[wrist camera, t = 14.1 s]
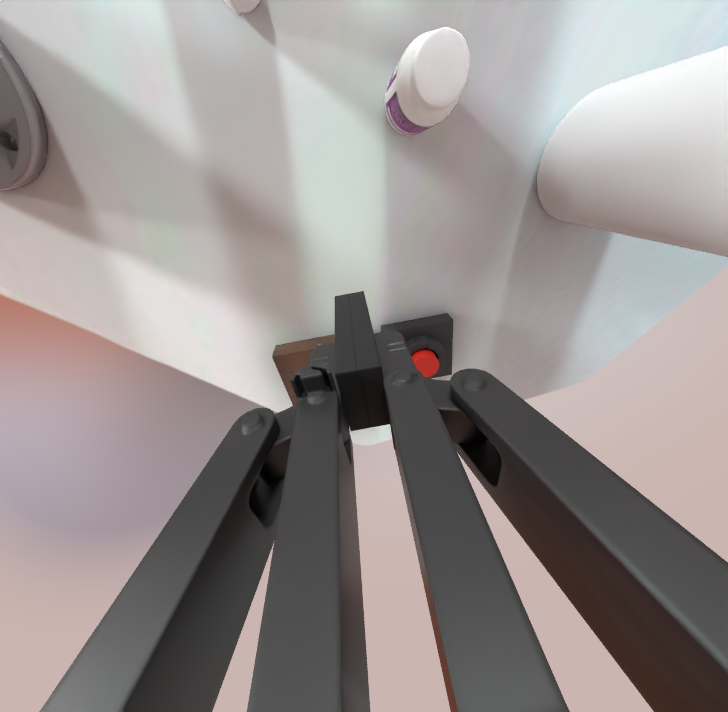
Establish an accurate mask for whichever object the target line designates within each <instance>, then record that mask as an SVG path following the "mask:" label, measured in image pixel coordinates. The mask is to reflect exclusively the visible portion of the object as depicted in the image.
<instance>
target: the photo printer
mask: <svg viewBox="0 0 728 712" xmlns="http://www.w3.org/2000/svg"><path fill="white" fill-rule="evenodd" d="M223 1H224V2H225V3H226V4H227V5H228V6H229V7H230V8H231V9H232V10H233V11H234V12H235V13H236V14H237V15H238V16H240V14H241V13H242V12H243V13H248V12H250V11H252V10H254V9H255V8H256V6H257V5H258V3H259V1H260V0H223Z"/></svg>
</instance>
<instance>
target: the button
mask: <svg viewBox="0 0 728 712" xmlns="http://www.w3.org/2000/svg"><path fill="white" fill-rule="evenodd" d="M411 357H412V359H413V362H414V364H415V366H416V369H417V370H419V371H420V372H421V373H422V374H423V375H424V377H426V378H428V377H431V376H432V375H434V374H435V373H436V372H437V371H438V369H439V361H438V359H437V357H436V356H435V354H434V353H433V352H432V351H431V350H428V349H421V350H418V351H416V352H414V353H413V354H412V355H411Z"/></svg>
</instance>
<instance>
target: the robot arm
mask: <svg viewBox="0 0 728 712" xmlns="http://www.w3.org/2000/svg"><path fill="white" fill-rule="evenodd" d="M46 154H47V135H46V129H45V124H44V120H43V116H42V113H41V110H40V107H39V104H38V102H37V100H36V97H35V95H34V93H33V91H32V89H31V87H30V85H29V83H28V81H27V79H26V77H25V76H24V74H23V72H22V71H21V69H20V67H19V66H18V64H17V63H16V61H15V60H14V58H13V57H12V55H11V54H10V53H9V51H8V50H7V48H6V47H5V46H4V44H3V43H2V42H1V41H0V191H2V190H12V189H17V188H20V187H23V186H25V185H27V184H28V183H30V182H32V181H33V180H34V179H35V178H36V177H37V176H38V174H39V173H40V172H41V170H42V168H43V166H44V163H45V160H46ZM290 382H291V385H292V387H293V390H294V392H295V394H296V397H297V399H298V400H297V403H296V404H295V405H294V406H292V407H290V408H288V409H286V410H284V411H281V412H279V413H277V414H274V413H273V411H271V410H270V409H268V408H257V409H254V410H251V411H249V412H247V413H245V414H244V415H242V416H241V417H240V418H239V419H238V420H237V421H236V422H235V423H234V425H233V426H232V428H231V429H230V430H229V432H228V434H227V435H226V436H225V438H224V439H223V441H222V442H221V444H220V445H219V447H218V448H217V450H216V451H215V453H214V454H213V456H212V457H211V459H210V460H209V462H208V463H207V465H206V466H205V467H204V469H203V470H202V472H201V473H200V475H199V476H198V478H197V479H196V481H195V482H194V484H193V485H192V487H191V488H190V490H189V491H188V493H187V494H186V496H185V497H184V499H183V500H182V502H181V503H180V504H179V506H178V508H177V509H176V510H175V512H174V513H173V515H172V516H171V518H170V519H169V521H168V522H167V524H166V525H165V527H164V528H163V530H162V531H161V533H160V534H159V536H158V537H157V539H156V540H155V542H154V543H153V545H152V546H151V547H150V549H149V551H148V552H147V553H146V555H145V556H144V558H143V559H142V561H141V562H140V564H139V565H138V567H137V568H136V570H135V571H134V573H133V574H132V576H131V577H130V579H129V580H128V582H127V583H126V585H125V586H124V588H123V589H122V591H121V592H120V593H119V595H118V596H117V598H116V600H115V601H114V602H113V604H112V605H111V607H110V608H109V610H108V611H107V613H106V614H105V616H104V617H103V619H102V620H101V622H100V623H99V625H98V626H97V628H96V629H95V630H94V632H93V633H92V635H91V636H90V638H89V639H88V641H87V642H86V644H85V645H84V647H83V648H82V650H81V651H80V653H79V654H78V656H77V657H76V659H75V660H74V662H73V663H72V665H71V666H70V668H69V669H68V671H67V672H66V673H65V675H64V676H63V678H62V679H61V681H60V682H59V684H58V685H57V687H56V688H55V690H54V691H53V693H52V694H51V696H50V697H49V699H48V700H47V702H46V703H45V705H44V706H43V708H42V709H41V710H40V712H212V710H213V708H214V705H215V702H216V699H217V697H218V694H219V691H220V688H221V686H222V683H223V680H224V677H225V675H226V672H227V669H228V666H229V664H230V661H231V658H232V655H233V653H234V650H235V647H236V644H237V642H238V639H239V636H240V633H241V631H242V628H243V625H244V622H245V620H246V617H247V614H248V611H249V609H250V606H251V603H252V600H253V598H254V595H255V592H256V590H257V587H258V584H259V581H260V579H261V576H262V573H263V570H264V568H265V565H266V562H267V559H268V557H269V554H270V551H271V548H272V546H273V543H274V548H273V555H272V560H271V566H270V572H269V579H268V585H267V592H266V597H265V603H264V610H263V616H262V622H261V628H260V634H259V641H258V647H257V653H256V659H255V666H254V671H253V678H252V684H251V690H250V696H249V702H248V709H247V712H370V701H369V687H368V686H369V685H368V670H367V657H366V656H367V655H366V641H365V627H364V610H363V596H362V581H361V567H360V551H359V536H358V522H357V507H356V491H355V478H354V461H353V446H352V441H351V437H350V432H349V426H350V430H351V431H354V430H359V429H365V428H370V427H376V426H381V425H387V424H390V426H391V432H392V438H393V444H394V449H395V452H396V456H397V461H398V466H399V471H400V475H401V480H402V484H403V489H404V494H405V499H406V503H407V508H408V513H409V517H410V522H411V527H412V531H413V536H414V541H415V546H416V550H417V555H418V560H419V564H420V569H421V574H422V578H423V583H424V588H425V592H426V597H427V602H428V607H429V611H430V616H431V620H432V625H433V630H434V634H435V639H436V644H437V649H438V653H439V658H440V663H441V667H442V672H443V676H444V682H445V686H446V691H447V696H448V700H449V705H450V710H451V712H570V711H569V709H568V707H567V705H566V703H565V701H564V698H563V696H562V694H561V691H560V689H559V687H558V684H557V682H556V680H555V677H554V675H553V673H552V671H551V668H550V666H549V664H548V661H547V659H546V657H545V654H544V652H543V650H542V647H541V645H540V643H539V640H538V638H537V636H536V634H535V632H534V629H533V627H532V624H531V622H530V620H529V617H528V615H527V613H526V611H525V608H524V606H523V604H522V601H521V599H520V597H519V594H518V592H517V590H516V587H515V585H514V583H513V581H512V578H511V576H510V574H509V571H508V569H507V567H506V564H505V562H504V560H503V557H502V555H501V553H500V550H499V548H498V546H497V544H496V541H495V539H494V537H493V534H492V532H491V530H490V527H489V525H488V523H487V521H486V518H485V516H484V513H483V511H482V509H481V507H480V504H479V502H478V500H477V497H476V495H475V493H474V490H473V488H472V486H471V483H470V481H469V479H468V476H467V474H466V472H465V470H464V468H463V465H462V463H461V460H460V458H459V456H458V454H459V455H460V456H461V458H462V459H463V460H464V462H465V463H466V464H467V466H468V467H469V468H470V469H471V471H472V472H473V473H474V475H475V476H476V477H477V479H478V480H479V481H480V483H481V484H482V485H483V487H484V488H485V489H486V490H487V492H488V493H489V495H490V496H491V497H492V499H493V500H494V501H495V502H496V504H497V505H498V506H499V508H500V509H501V510H502V512H503V513H504V514H505V516H506V517H507V518H508V520H509V521H510V522H511V523H512V525H513V526H514V528H515V529H516V530H517V531H518V533H519V534H520V535H521V537H522V538H523V539H524V541H525V542H526V543H527V545H528V546H529V547H530V549H531V550H532V551H533V553H534V554H535V555H536V557H537V558H538V559H539V560H540V562H541V563H542V564H543V566H544V567H545V568H546V570H547V571H548V572H549V574H550V575H551V576H552V577H553V579H554V580H555V582H556V583H557V584H558V586H559V587H560V588H561V590H562V591H563V592H564V593H565V595H566V596H567V597H568V599H569V600H570V601H571V603H572V604H573V605H574V607H575V608H576V609H577V611H578V612H579V613H580V615H581V616H582V617H583V619H584V620H585V621H586V622H587V624H588V625H589V626H590V628H591V629H592V630H593V632H594V633H595V634H596V635H597V637H598V638H599V639H600V641H601V642H602V644H603V645H604V646H605V648H606V649H607V650H608V652H609V653H610V654H611V655H612V657H613V658H614V659H615V661H616V662H617V663H618V665H619V666H620V667H621V669H622V670H623V671H624V673H625V674H626V675H627V676H628V678H629V679H630V680H631V682H632V683H633V684H634V686H635V687H636V688H637V690H638V691H639V692H640V693H641V695H642V696H643V698H644V699H645V700H646V702H647V703H648V704H649V706H650V707H651V708H652V709H653V711H654V712H728V562H726V561H725V560H724V559H722V558H721V557H720V556H719V555H717V554H716V553H715V552H714V551H712V550H711V549H710V548H708V547H707V546H706V545H705V544H704V543H702V542H701V541H700V540H699V539H697V538H696V537H695V536H694V535H692V534H691V533H690V532H689V531H687V530H686V529H685V528H684V527H682V526H681V525H680V524H678V523H677V522H676V521H675V520H673V519H672V518H671V517H670V516H668V515H667V514H666V513H665V512H663V511H662V510H661V509H660V508H658V507H657V506H656V505H654V504H653V503H652V502H651V501H649V500H648V499H647V498H646V497H644V496H643V495H642V494H641V493H639V492H638V491H637V490H636V489H635V488H633V487H632V486H631V485H629V484H628V483H627V482H626V481H624V480H623V479H622V478H621V477H619V476H618V475H617V474H616V473H614V472H613V471H612V470H610V469H609V468H608V467H607V466H606V465H604V464H603V463H602V462H601V461H599V460H598V459H597V458H596V457H594V456H593V455H592V454H590V453H589V452H588V451H587V450H585V449H584V448H583V447H582V446H580V445H579V444H578V443H577V442H575V441H574V440H573V439H572V438H570V437H569V436H568V435H567V434H565V433H564V432H563V431H561V430H560V429H559V428H558V427H557V426H555V425H554V424H553V423H551V422H550V421H549V420H548V419H547V418H545V417H544V416H543V415H541V414H540V413H539V412H538V411H536V410H535V409H534V408H533V407H531V406H530V405H529V404H528V403H526V402H525V401H524V400H523V399H521V398H520V397H519V396H518V395H516V394H515V393H514V392H513V391H511V390H510V389H509V388H508V387H506V386H505V385H504V384H503V383H501V382H500V381H499V380H498V379H496V378H495V377H494V376H492V375H491V374H489V373H487V372H486V371H482V370H478V369H465V370H460V371H458V372H456V373H455V374H454V375H453V376H452V378H451V381H443V380H433V379H429V378H426V377H424V375H423V374H422V373H421V372H420V371H419V370H417V369H416V366H415V364H414V362H413V359H412V357H411V354H410V352H409V350H408V347H407V345H406V343H405V340H404V338H403V335H402V334H400V333H399V332H398V331H396V330H392V331H386V332H381V333H376V334H374V333H373V329H372V325H371V321H370V316H369V312H368V308H367V304H366V300H365V296H364V291H361V292H356V293H351V294H345V295H340V296H335V342H332V343H327V344H321V345H316V346H315V348H314V349H313V350H312V352H311V353H310V362H309V365H306V366H304V367H302V368H300V369H298V370H297V371H296V372H295V373H294V374H293V375H292V376H291V378H290ZM457 452H458V453H457ZM274 540H275V542H274Z"/></svg>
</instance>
